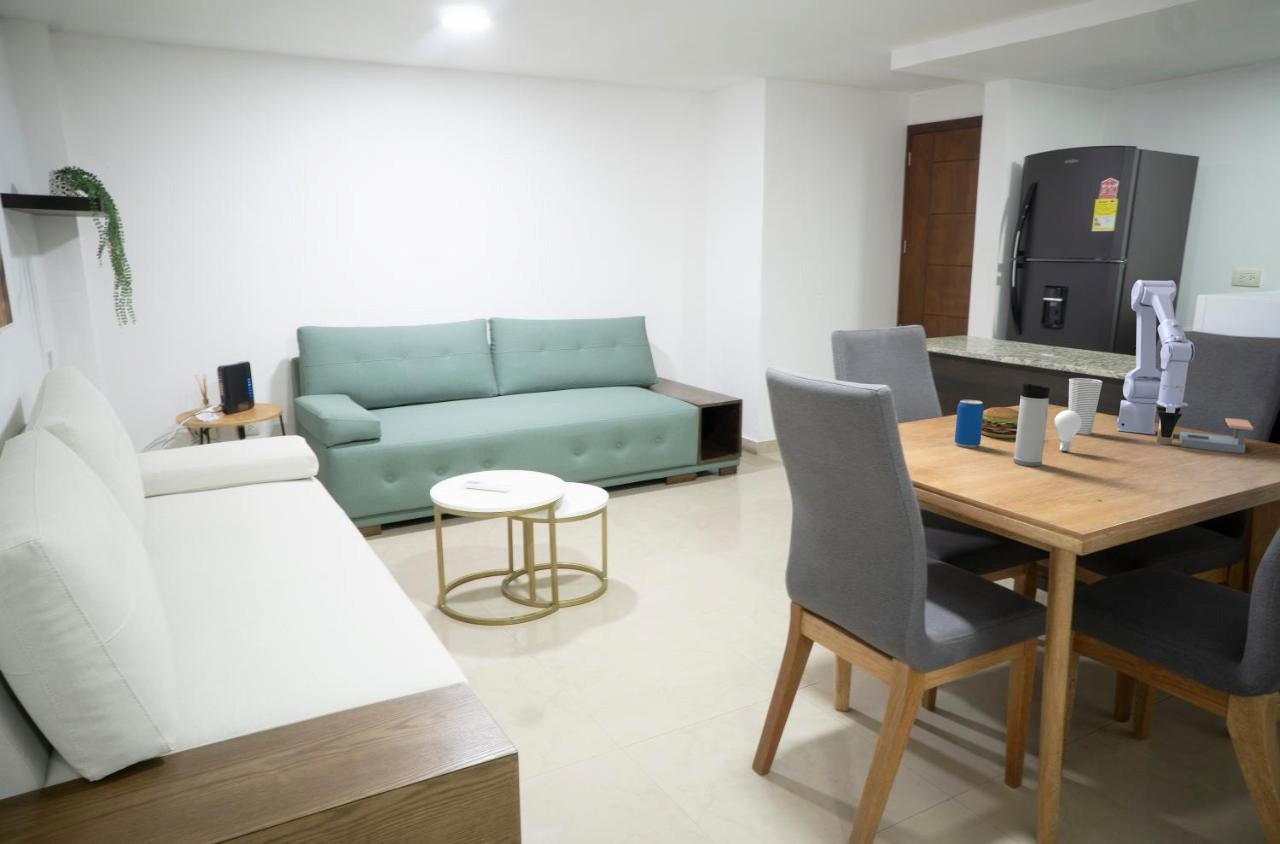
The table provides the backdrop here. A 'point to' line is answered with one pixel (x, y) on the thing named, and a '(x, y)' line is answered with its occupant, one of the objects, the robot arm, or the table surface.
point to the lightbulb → (1067, 428)
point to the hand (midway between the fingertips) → (1165, 434)
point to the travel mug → (1031, 425)
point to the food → (1000, 422)
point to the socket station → (1219, 438)
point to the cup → (1084, 401)
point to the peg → (1163, 438)
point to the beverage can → (969, 423)
